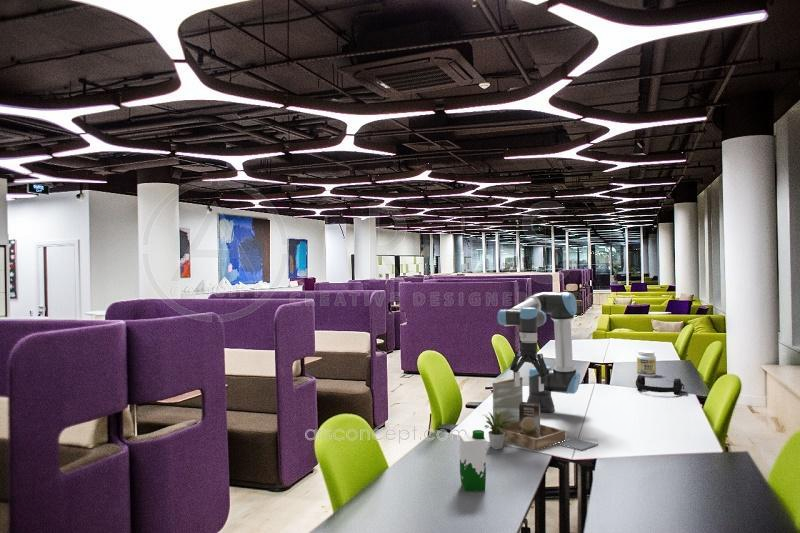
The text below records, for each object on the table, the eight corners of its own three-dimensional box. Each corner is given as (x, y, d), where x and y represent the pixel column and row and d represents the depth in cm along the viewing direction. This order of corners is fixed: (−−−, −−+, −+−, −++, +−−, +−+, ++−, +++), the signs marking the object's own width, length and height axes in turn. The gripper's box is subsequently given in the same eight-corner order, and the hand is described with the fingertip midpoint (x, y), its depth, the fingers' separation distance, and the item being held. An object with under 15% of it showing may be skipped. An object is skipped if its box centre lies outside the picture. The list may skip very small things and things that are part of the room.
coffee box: (518, 440, 261) (518, 404, 261) (520, 436, 267) (520, 401, 267) (539, 442, 258) (539, 406, 258) (540, 438, 264) (540, 402, 264)
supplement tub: (639, 376, 402) (639, 352, 402) (635, 373, 414) (635, 349, 414) (658, 377, 400) (657, 352, 400) (653, 374, 412) (653, 350, 412)
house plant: (491, 454, 242) (491, 415, 242) (472, 445, 254) (472, 408, 254) (518, 449, 248) (518, 411, 248) (498, 440, 260) (498, 404, 260)
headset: (675, 387, 368) (675, 373, 368) (693, 396, 342) (693, 382, 342) (630, 387, 371) (630, 373, 371) (644, 396, 344) (643, 381, 344)
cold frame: (493, 436, 267) (492, 382, 267) (521, 428, 279) (520, 377, 279) (537, 450, 247) (536, 391, 247) (565, 440, 260) (564, 385, 260)
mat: (557, 444, 255) (557, 443, 255) (573, 439, 262) (573, 437, 262) (581, 451, 245) (581, 449, 245) (597, 445, 253) (597, 443, 253)
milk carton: (488, 492, 202) (487, 434, 202) (462, 493, 202) (462, 435, 202) (482, 482, 211) (482, 427, 211) (458, 483, 210) (457, 428, 210)
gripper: (502, 339, 270) (502, 385, 270) (546, 345, 250) (546, 394, 250) (512, 338, 275) (512, 383, 275) (556, 343, 255) (557, 391, 255)
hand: (529, 388), depth 262 cm, fingers open, 13 cm apart
